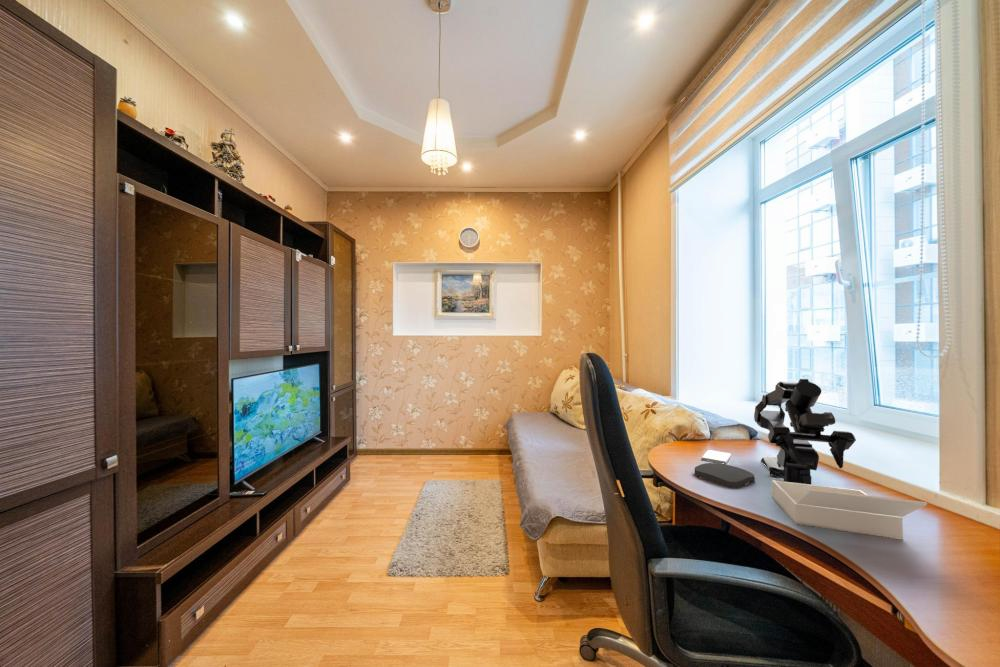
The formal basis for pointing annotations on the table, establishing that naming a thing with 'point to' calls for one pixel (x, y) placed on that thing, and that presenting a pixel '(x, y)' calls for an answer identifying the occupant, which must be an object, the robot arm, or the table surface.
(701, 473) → the media streaming box
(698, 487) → the table surface
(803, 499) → the box flap
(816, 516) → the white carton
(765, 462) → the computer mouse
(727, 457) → the external hard drive
